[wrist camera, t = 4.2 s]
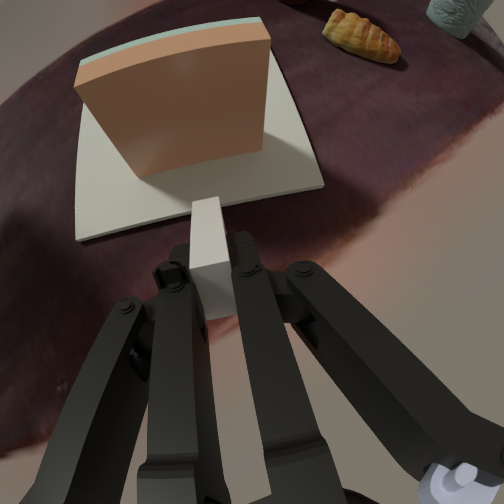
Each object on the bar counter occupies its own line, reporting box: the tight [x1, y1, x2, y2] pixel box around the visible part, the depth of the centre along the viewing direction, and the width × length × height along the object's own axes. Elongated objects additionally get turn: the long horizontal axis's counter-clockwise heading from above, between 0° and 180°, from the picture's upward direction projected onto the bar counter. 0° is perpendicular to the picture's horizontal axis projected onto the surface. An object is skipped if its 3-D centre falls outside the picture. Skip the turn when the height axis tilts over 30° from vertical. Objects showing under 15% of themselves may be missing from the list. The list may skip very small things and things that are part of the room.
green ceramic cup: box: [426, 0, 494, 39], centre depth 25 cm, size 10×10×12 cm
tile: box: [74, 17, 271, 178], centre depth 17 cm, size 10×2×11 cm, turn 102°
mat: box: [75, 49, 325, 242], centre depth 23 cm, size 20×20×1 cm
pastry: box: [322, 9, 401, 64], centre depth 25 cm, size 9×7×4 cm
